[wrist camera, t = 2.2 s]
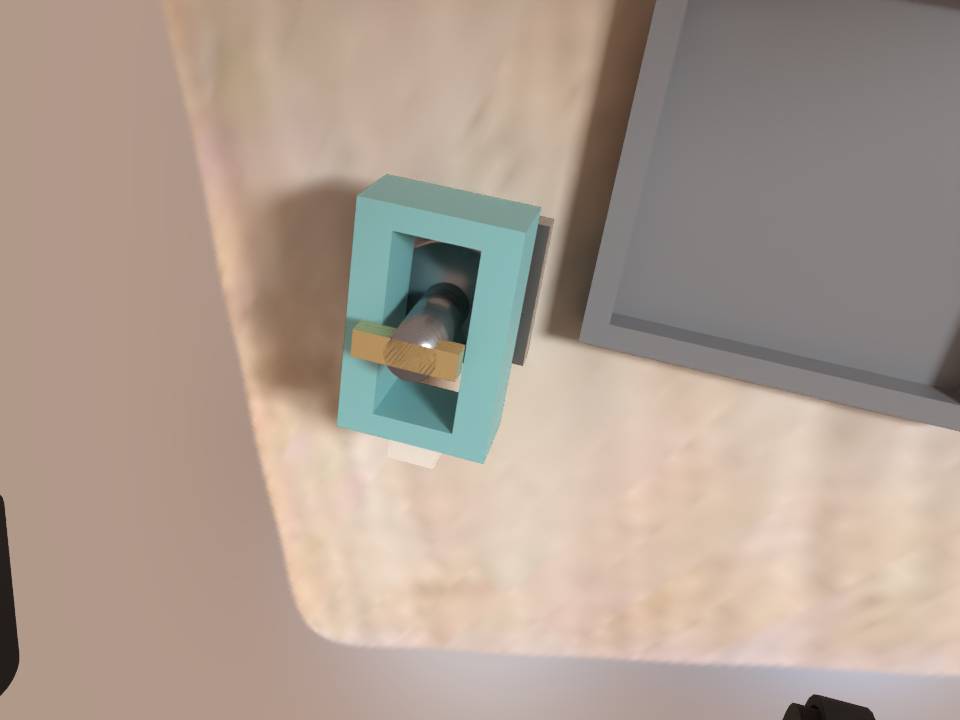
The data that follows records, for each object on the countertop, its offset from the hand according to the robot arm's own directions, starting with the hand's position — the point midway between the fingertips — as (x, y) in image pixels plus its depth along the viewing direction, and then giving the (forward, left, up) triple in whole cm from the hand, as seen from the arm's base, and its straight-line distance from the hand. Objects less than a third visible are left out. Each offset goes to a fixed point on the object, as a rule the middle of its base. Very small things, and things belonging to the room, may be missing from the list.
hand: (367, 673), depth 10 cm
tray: (-8, -1, -25) cm, 27 cm away
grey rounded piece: (+4, +5, -25) cm, 26 cm away
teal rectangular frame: (+4, +5, -22) cm, 23 cm away
